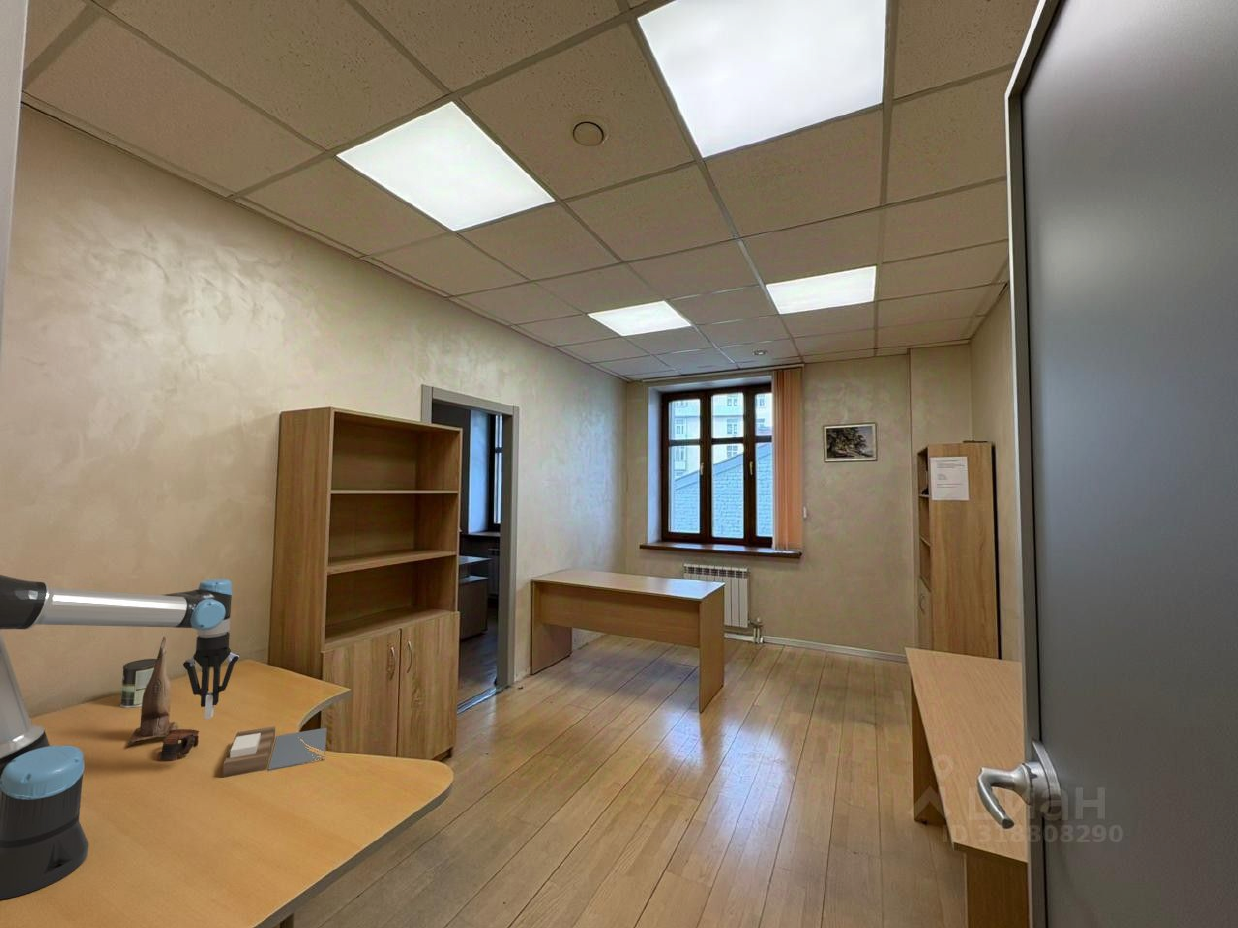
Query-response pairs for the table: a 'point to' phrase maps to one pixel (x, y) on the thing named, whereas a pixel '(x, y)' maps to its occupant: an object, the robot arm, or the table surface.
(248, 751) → the white rectangular block
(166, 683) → the brown tall tapered piece
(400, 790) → the table surface
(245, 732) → the block
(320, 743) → the mat
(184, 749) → the pottery mug
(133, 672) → the coffee can
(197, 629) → the robot arm
